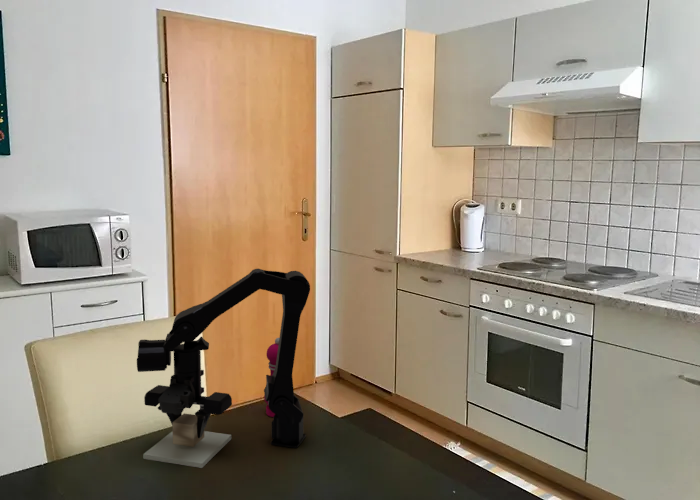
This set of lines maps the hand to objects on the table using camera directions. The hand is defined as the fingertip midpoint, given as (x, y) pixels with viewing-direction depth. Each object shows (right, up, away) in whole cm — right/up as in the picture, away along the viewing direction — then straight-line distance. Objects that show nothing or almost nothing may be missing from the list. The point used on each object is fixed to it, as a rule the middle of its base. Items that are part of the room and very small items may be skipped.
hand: (188, 435), depth 134 cm
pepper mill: (+18, -1, +21) cm, 27 cm away
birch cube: (0, -1, 0) cm, 1 cm away
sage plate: (0, -3, 0) cm, 3 cm away
